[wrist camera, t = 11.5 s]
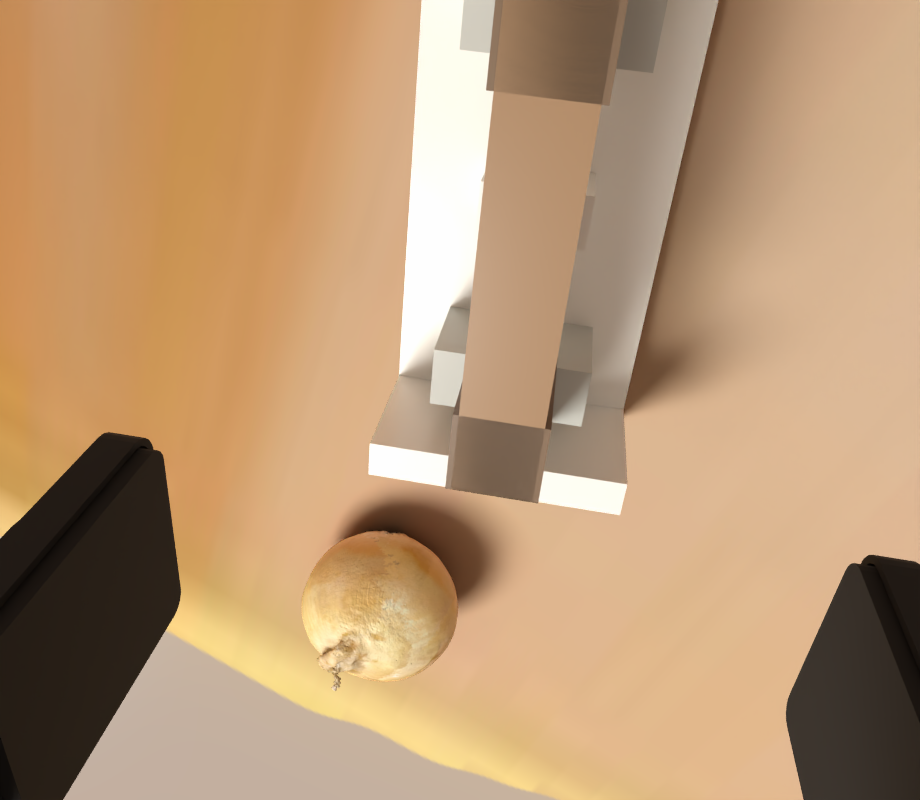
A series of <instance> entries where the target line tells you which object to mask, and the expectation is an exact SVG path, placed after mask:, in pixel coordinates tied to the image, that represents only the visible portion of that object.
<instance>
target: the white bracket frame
mask: <svg viewBox="0 0 920 800" xmlns="http://www.w3.org/2000/svg"><path fill="white" fill-rule="evenodd" d="M717 5H718V0H628V5H627V11H626V16H625V22H624V28H623V33H622V39H621V44H620V50H619V55H618V61H617V67H616V72H615V78H614V83H613V89H612V94H611V100H610V106H607V105H602V106H601V111H600V117H599V123H598V129H597V134H596V140H595V146H594V152H593V157H592V163H591V169H590V174H589V180H588V186H587V192H586V197H585V203H584V209H583V214H582V220H581V226H580V232H579V237H578V243H577V249H576V255H575V260H574V266H573V272H572V277H571V283H570V289H569V295H568V300H567V306H566V312H565V318H564V323H563V329H562V335H561V340H560V346H559V352H558V360H557V372H556V383H555V394H554V405H553V416H552V427H551V434H550V440H549V445H548V451H547V456H546V462H545V468H544V473H543V479H542V484H541V490H540V495H539V501H538V502H542V503H548V504H554V505H561V506H567V507H573V508H579V509H585V510H591V511H597V512H604V513H610V514H616V515H620V512H621V508H622V504H623V500H624V496H625V492H626V488H627V468H626V449H625V430H624V410H623V409H624V405H625V401H626V396H627V392H628V388H629V384H630V379H631V375H632V371H633V366H634V362H635V358H636V353H637V349H638V345H639V341H640V336H641V332H642V328H643V323H644V319H645V315H646V310H647V306H648V302H649V297H650V293H651V289H652V285H653V280H654V276H655V272H656V267H657V263H658V259H659V254H660V250H661V246H662V241H663V237H664V233H665V229H666V224H667V220H668V216H669V211H670V207H671V203H672V198H673V194H674V190H675V185H676V181H677V177H678V173H679V168H680V164H681V160H682V155H683V151H684V147H685V142H686V138H687V134H688V129H689V125H690V121H691V117H692V112H693V108H694V104H695V99H696V95H697V91H698V86H699V82H700V78H701V73H702V69H703V65H704V61H705V56H706V52H707V48H708V43H709V39H710V35H711V30H712V26H713V22H714V17H715V13H716V9H717ZM494 7H495V0H422V6H421V22H420V39H419V55H418V72H417V88H416V105H415V121H414V138H413V154H412V171H411V187H410V204H409V220H408V237H407V253H406V270H405V286H404V303H403V319H402V336H401V352H400V369H399V377H398V379H397V381H396V384H395V386H394V388H393V391H392V393H391V395H390V398H389V400H388V402H387V405H386V407H385V409H384V412H383V414H382V416H381V419H380V421H379V423H378V426H377V428H376V430H375V433H374V435H373V437H372V440H371V442H370V452H369V474H370V475H376V476H382V477H389V478H395V479H401V480H407V481H413V482H419V483H425V484H432V485H438V486H444V487H445V485H446V475H447V465H448V456H449V446H450V436H451V426H452V417H453V412H454V408H455V405H456V401H457V398H458V395H459V391H460V388H461V384H462V381H463V372H464V362H465V353H466V344H467V334H468V325H469V316H470V307H471V297H472V288H473V279H474V269H475V260H476V251H477V241H478V232H479V223H480V213H481V204H482V195H483V185H484V176H485V167H486V157H487V148H488V139H489V129H490V120H491V111H492V101H493V92H494V91H487V90H486V85H487V75H488V65H489V56H490V46H491V36H492V26H493V17H494Z"/></svg>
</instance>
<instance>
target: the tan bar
mask: <svg viewBox="0 0 920 800" xmlns="http://www.w3.org/2000/svg"><path fill="white" fill-rule="evenodd" d="M627 5H628V0H495V7H494V17H493V26H492V36H491V46H490V56H489V65H488V75H487V85H486V90H487V91H494V92H493V101H492V111H491V120H490V129H489V139H488V148H487V157H486V167H485V176H484V185H483V195H482V204H481V213H480V223H479V232H478V241H477V251H476V260H475V269H474V279H473V288H472V297H471V307H470V316H469V325H468V334H467V344H466V353H465V362H464V372H463V381H462V384H461V388H460V391H459V395H458V398H457V401H456V405H455V408H454V412H453V417H452V426H451V436H450V446H449V456H448V465H447V475H446V485H445V488H447V489H453V490H459V491H465V492H471V493H477V494H484V495H490V496H496V497H502V498H508V499H514V500H521V501H527V502H533V503H538V501H539V495H540V490H541V484H542V479H543V473H544V468H545V462H546V456H547V451H548V445H549V440H550V434H551V427H552V416H553V405H554V394H555V383H556V372H557V360H558V352H559V346H560V340H561V335H562V329H563V323H564V318H565V312H566V306H567V300H568V295H569V289H570V283H571V277H572V272H573V266H574V260H575V255H576V249H577V243H578V237H579V232H580V226H581V220H582V214H583V209H584V203H585V197H586V192H587V186H588V180H589V174H590V169H591V163H592V157H593V152H594V146H595V140H596V134H597V129H598V123H599V117H600V111H601V106H602V105H607V106H610V100H611V94H612V89H613V83H614V78H615V72H616V67H617V61H618V55H619V50H620V44H621V39H622V33H623V28H624V22H625V16H626V11H627Z"/></svg>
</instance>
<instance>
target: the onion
mask: <svg viewBox="0 0 920 800" xmlns="http://www.w3.org/2000/svg"><path fill="white" fill-rule="evenodd" d="M457 614H458V602H457V596H456V590H455V586H454V583H453V581H452V578H451V576H450V574H449V573H448V571H447V569H446V568H445V566H444V565H443V563H442V562H441V560H440V559H439V558H438V557H437V556H436V555H435V554H434V553H433V552H432V551H431V550H430V549H428V548H427V547H425V546H424V545H423V544H421V543H419V542H418V541H416V540H414V539H412V538H410V537H408V536H407V535H405V534H403V533H399V532H398V534H396V533H391V534H389V532H387V531H372V532H371V531H370V532H368V531H366V532H365V533H361V534H358V535H355V536H352V537H349V538H347V539H344V540H342V541H341V542H339V543H338V544H336V545H335V546H333V547H332V548H331V549H329V550H328V551H327V552H326V553H325V554H324V555H323V557H322V558H321V559H320V560H319V562H318V563H317V564H316V566H315V568H314V569H313V571H312V573H311V575H310V577H309V580H308V582H307V584H306V586H305V589H304V592H303V596H302V618H303V622H304V626H305V629H306V632H307V635H308V637H309V640H310V642H311V643H312V645H313V646H314V647H315V648H316V649H317V650H318V652H319V653H320V654H321V655H320V657H319V658H317V660H318V663H319V666H320V667H321V668H322V669H325V670H327V671H328V672H331V673H332V674H333V675H334V679H336V680H335V681H334V684H335V685H333V687H331V688H332V689H333V690H334V691H336V690H337V689H336V688H337V687H338V688H339V687H340V686H339V685H340V684H341V682H340V680H341V678H339V677H338V676H337V674H338V673H340V672H341V671H345V672H347V673H350V674H352V675H355V676H358V677H361V678H364V679H368V680H372V681H379V682H389V681H398V680H403V679H406V678H409V677H412V676H414V675H416V674H418V673H420V672H422V671H423V670H425V669H426V668H427V667H429V666H430V665H431V664H432V663H434V662H435V661H436V660H437V659H438V658H439V657H440V656H441V654H442V653H443V652H444V651H445V649H446V648H447V647H448V645H449V643H450V641H451V639H452V637H453V634H454V631H455V627H456V622H457Z"/></svg>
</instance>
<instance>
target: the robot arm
mask: <svg viewBox="0 0 920 800" xmlns="http://www.w3.org/2000/svg"><path fill="white" fill-rule="evenodd" d="M180 595H181V587H180V580H179V572H178V564H177V557H176V549H175V541H174V534H173V526H172V518H171V511H170V503H169V496H168V488H167V480H166V473H165V465H164V459H163V455H162V453H161V452H160V451H157V450H153V446H152V444H151V442H150V441H149V440H148V439H146V438H141V437H135V436H129V435H123V434H117V433H110V432H108V433H104V434H102V435H101V436H100V437H99V438H98V439H97V440H96V441H95V442H94V443H93V444H92V445H91V446H90V447H89V448H88V449H87V450H86V451H85V452H84V453H83V454H82V455H81V456H80V457H79V459H78V460H77V461H76V462H75V463H74V464H73V465H72V466H71V467H70V468H69V469H68V470H67V471H66V472H65V473H64V474H63V475H62V476H61V477H60V478H59V480H58V481H57V482H56V483H55V484H54V485H53V486H52V487H51V488H50V489H49V490H48V491H47V492H46V493H45V494H44V495H43V496H42V497H41V498H40V499H39V501H38V502H37V503H36V504H35V505H34V506H33V507H32V508H31V509H30V510H29V511H28V512H27V513H26V514H25V515H24V516H23V517H22V518H21V519H20V520H19V521H18V522H17V523H16V524H14V525H13V526H12V527H11V528H10V529H9V530H8V531H7V532H6V533H5V534H4V535H3V536H2V538H1V539H0V800H63V799H64V797H65V796H66V794H67V792H68V791H69V789H70V787H71V786H72V784H73V782H74V781H75V779H76V777H77V775H78V774H79V772H80V771H81V769H82V767H83V766H84V764H85V763H86V761H87V759H88V757H89V756H90V754H91V753H92V751H93V749H94V748H95V746H96V744H97V743H98V741H99V739H100V738H101V736H102V735H103V733H104V731H105V729H106V728H107V726H108V725H109V723H110V721H111V720H112V718H113V716H114V715H115V713H116V711H117V710H118V708H119V706H120V705H121V703H122V701H123V700H124V698H125V697H126V695H127V693H128V692H129V690H130V688H131V686H132V685H133V683H134V681H135V680H136V678H137V677H138V675H139V673H140V672H141V670H142V668H143V667H144V665H145V663H146V662H147V660H148V659H149V657H150V655H151V654H152V652H153V650H154V649H155V647H156V645H157V644H158V642H159V640H160V639H161V637H162V635H163V634H164V632H165V630H166V629H167V627H168V625H169V624H170V622H171V620H172V619H173V617H174V615H175V613H176V611H177V608H178V606H179V601H180ZM786 721H787V728H788V732H789V736H790V741H791V745H792V750H793V754H794V759H795V763H796V767H797V772H798V776H799V781H800V785H801V790H802V794H803V799H804V800H920V564H918V563H916V562H914V561H907V560H901V559H895V558H889V557H883V556H876V555H868V556H867V557H866V558H864V559H863V561H862V563H861V564H856V563H853V564H850V565H849V566H848V567H847V569H846V571H845V573H844V575H843V577H842V580H841V582H840V584H839V586H838V589H837V591H836V593H835V595H834V597H833V600H832V602H831V604H830V606H829V608H828V611H827V613H826V615H825V617H824V620H823V622H822V624H821V626H820V628H819V631H818V633H817V635H816V637H815V640H814V642H813V644H812V646H811V648H810V651H809V653H808V655H807V657H806V659H805V662H804V664H803V666H802V668H801V671H800V673H799V675H798V677H797V679H796V682H795V684H794V686H793V688H792V691H791V693H790V695H789V698H788V702H787V708H786Z"/></svg>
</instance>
